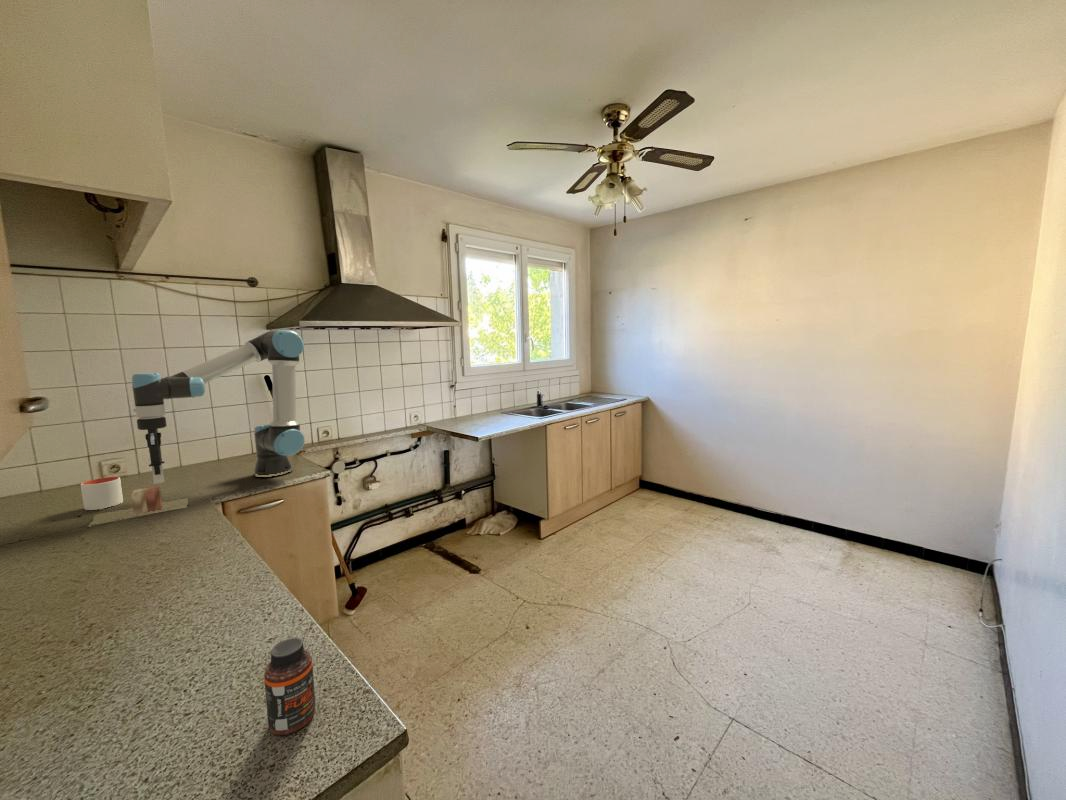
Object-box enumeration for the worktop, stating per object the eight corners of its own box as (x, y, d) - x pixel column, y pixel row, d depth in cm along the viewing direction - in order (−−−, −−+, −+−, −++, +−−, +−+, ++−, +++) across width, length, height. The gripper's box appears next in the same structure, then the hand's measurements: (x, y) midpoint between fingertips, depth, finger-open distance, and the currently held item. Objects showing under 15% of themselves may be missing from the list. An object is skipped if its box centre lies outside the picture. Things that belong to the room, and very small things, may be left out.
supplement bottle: (289, 744, 56) (281, 666, 55) (258, 730, 59) (251, 655, 57) (325, 709, 62) (319, 637, 61) (296, 697, 64) (290, 629, 63)
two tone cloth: (160, 485, 151) (133, 490, 147) (158, 490, 146) (131, 495, 142) (162, 504, 152) (136, 509, 148) (161, 509, 147) (133, 514, 142)
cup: (99, 512, 146) (95, 485, 145) (76, 511, 148) (72, 484, 147) (131, 502, 156) (127, 476, 155) (109, 502, 158) (105, 476, 157)
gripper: (138, 416, 149) (146, 481, 151) (134, 420, 139) (143, 489, 141) (166, 414, 153) (173, 476, 156) (164, 418, 143) (172, 484, 146)
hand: (159, 482), depth 149 cm, fingers closed
